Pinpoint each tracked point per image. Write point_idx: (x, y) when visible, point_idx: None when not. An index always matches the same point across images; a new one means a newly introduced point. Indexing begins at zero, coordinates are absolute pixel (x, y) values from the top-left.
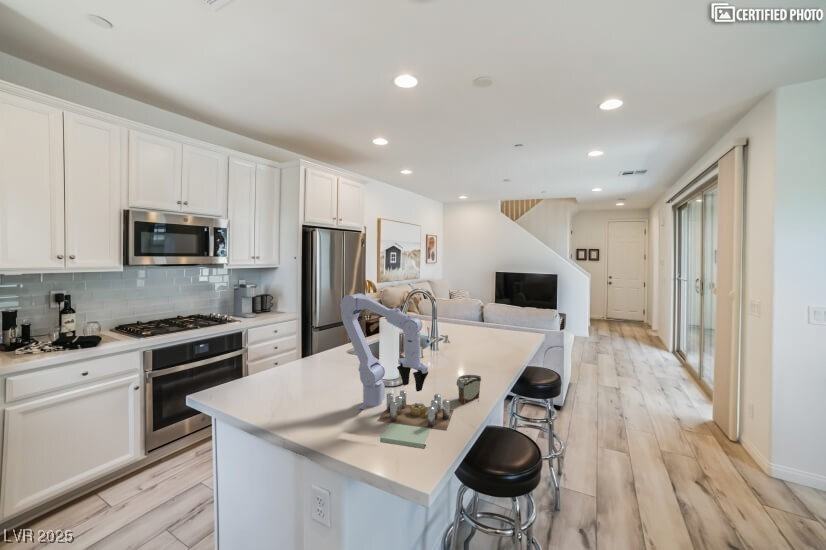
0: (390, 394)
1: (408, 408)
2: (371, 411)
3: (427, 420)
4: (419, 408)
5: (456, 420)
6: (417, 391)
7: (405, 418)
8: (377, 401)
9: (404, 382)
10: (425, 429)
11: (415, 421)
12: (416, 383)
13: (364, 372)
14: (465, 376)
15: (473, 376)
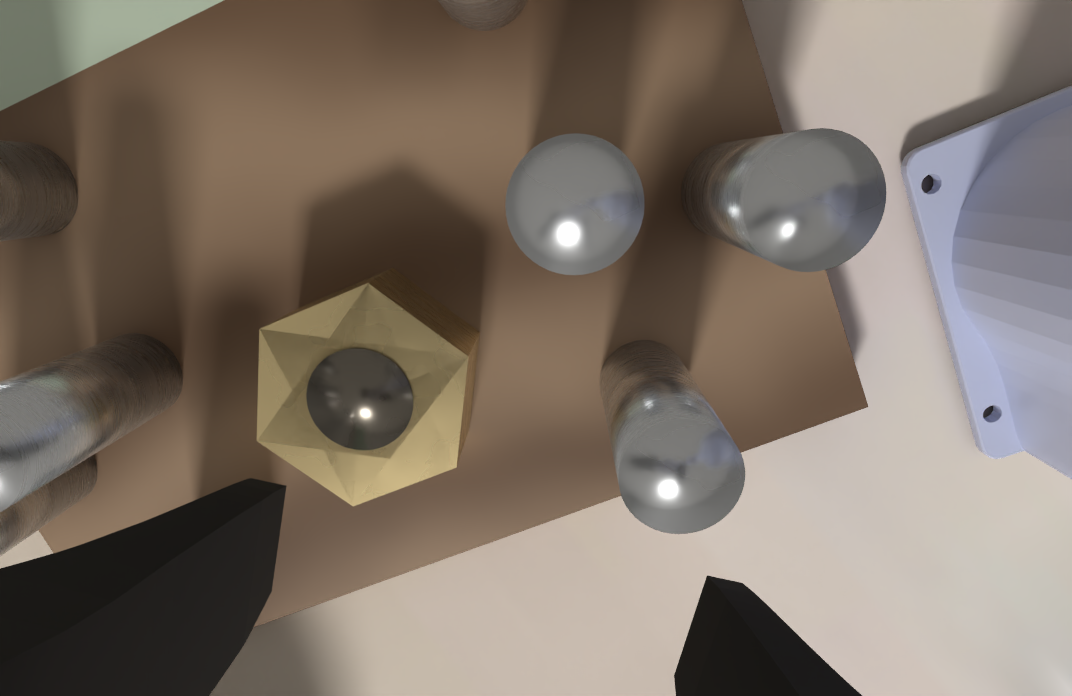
0: (806, 210)
1: (565, 401)
2: (992, 107)
3: (4, 154)
4: (291, 350)
5: (42, 542)
6: (251, 478)
7: (403, 140)
8: (1027, 208)
9: (721, 625)
10: (5, 55)
11: (247, 154)
12: (132, 549)
13: None
14: None
15: None
